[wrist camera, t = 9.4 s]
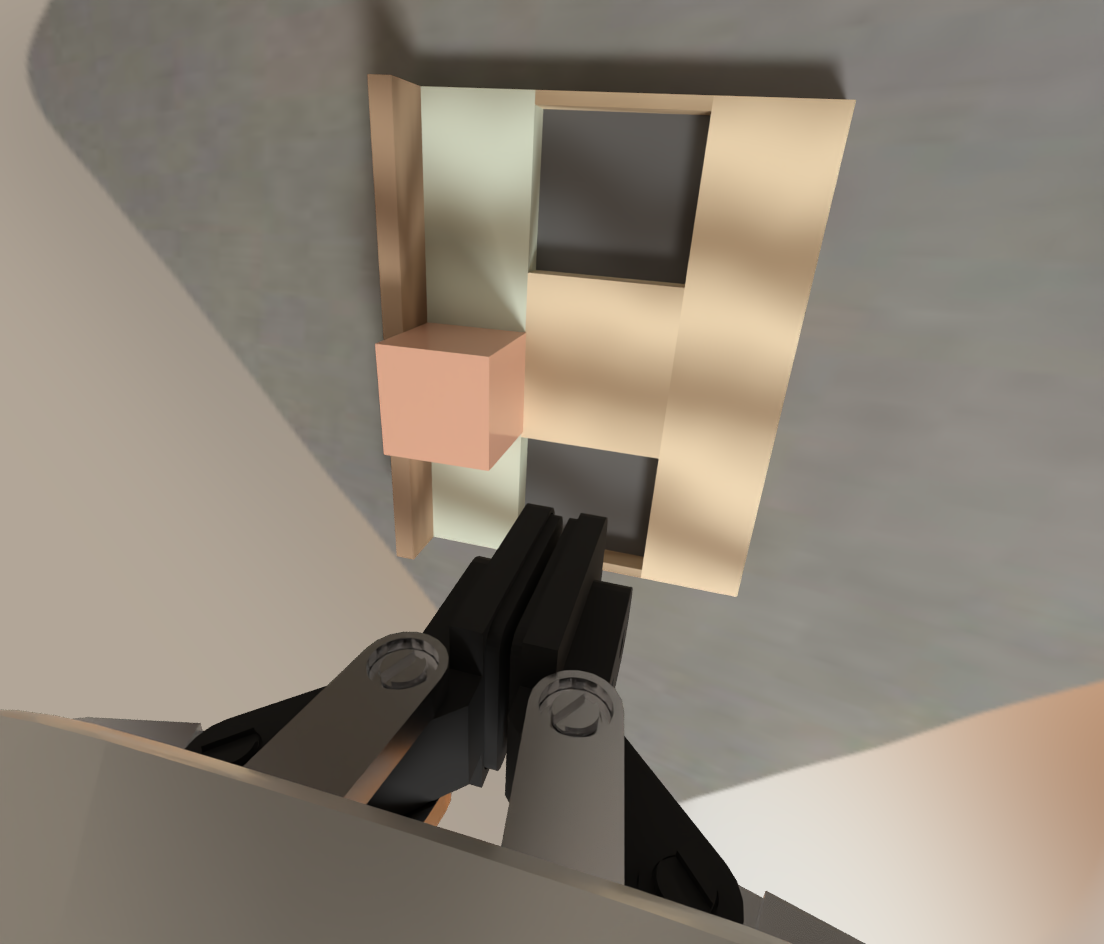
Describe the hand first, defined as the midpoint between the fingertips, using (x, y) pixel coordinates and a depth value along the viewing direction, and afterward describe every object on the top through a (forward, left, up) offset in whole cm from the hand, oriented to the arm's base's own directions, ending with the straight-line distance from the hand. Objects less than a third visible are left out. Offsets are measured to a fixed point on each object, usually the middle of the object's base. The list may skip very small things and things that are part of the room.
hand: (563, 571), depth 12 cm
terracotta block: (+2, -9, -17) cm, 19 cm away
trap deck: (0, -3, -18) cm, 19 cm away
